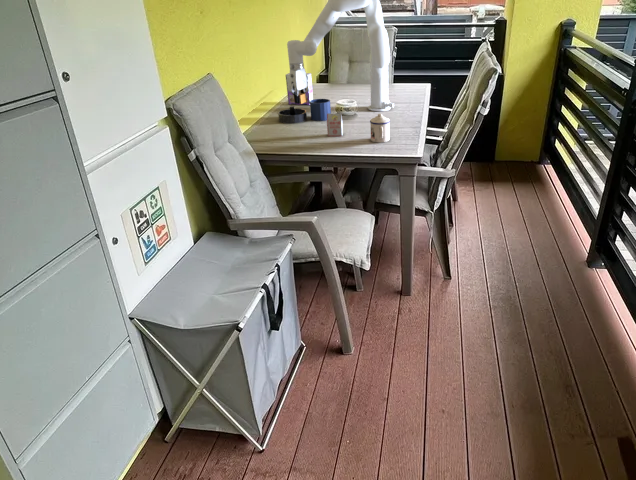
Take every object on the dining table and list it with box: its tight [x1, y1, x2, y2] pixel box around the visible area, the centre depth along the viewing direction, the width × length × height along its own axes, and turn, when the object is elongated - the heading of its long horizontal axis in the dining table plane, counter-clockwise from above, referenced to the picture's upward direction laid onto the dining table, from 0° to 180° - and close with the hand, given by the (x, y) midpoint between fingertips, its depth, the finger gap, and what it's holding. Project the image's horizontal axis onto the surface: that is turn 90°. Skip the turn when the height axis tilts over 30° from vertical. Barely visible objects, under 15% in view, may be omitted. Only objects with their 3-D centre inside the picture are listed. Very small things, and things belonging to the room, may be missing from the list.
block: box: [294, 93, 306, 104], centre depth 289 cm, size 4×4×4 cm
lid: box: [289, 105, 299, 115], centre depth 278 cm, size 11×11×6 cm
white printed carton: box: [326, 113, 344, 137], centre depth 251 cm, size 4×7×10 cm, turn 84°
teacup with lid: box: [369, 113, 391, 144], centre depth 241 cm, size 12×9×12 cm
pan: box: [277, 108, 308, 124], centre depth 279 cm, size 15×15×4 cm
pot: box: [309, 98, 332, 122], centre depth 279 cm, size 10×10×9 cm
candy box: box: [285, 72, 314, 106], centre depth 306 cm, size 14×6×16 cm, turn 71°
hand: (300, 102), depth 290 cm, fingers closed on block, 4 cm apart
